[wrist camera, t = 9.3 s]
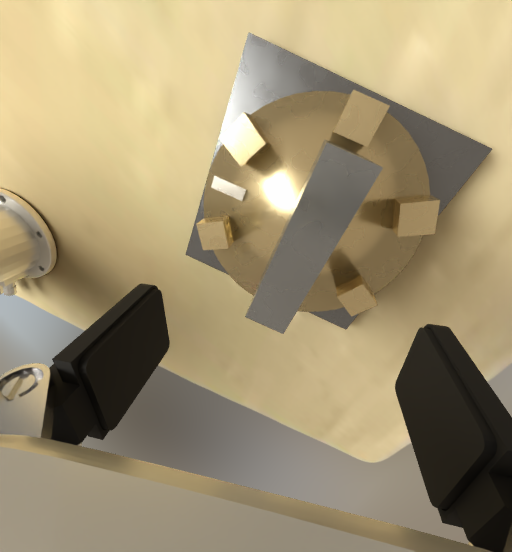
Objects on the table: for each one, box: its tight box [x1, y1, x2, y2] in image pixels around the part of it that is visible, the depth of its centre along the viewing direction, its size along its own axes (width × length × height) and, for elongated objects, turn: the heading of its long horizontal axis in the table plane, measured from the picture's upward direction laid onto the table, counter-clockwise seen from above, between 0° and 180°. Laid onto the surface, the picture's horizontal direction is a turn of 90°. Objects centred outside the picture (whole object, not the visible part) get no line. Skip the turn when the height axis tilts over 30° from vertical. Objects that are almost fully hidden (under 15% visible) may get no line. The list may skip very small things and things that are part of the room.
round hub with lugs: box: [196, 90, 440, 334], centre depth 20 cm, size 18×18×10 cm
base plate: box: [186, 33, 492, 329], centre depth 25 cm, size 20×20×2 cm
